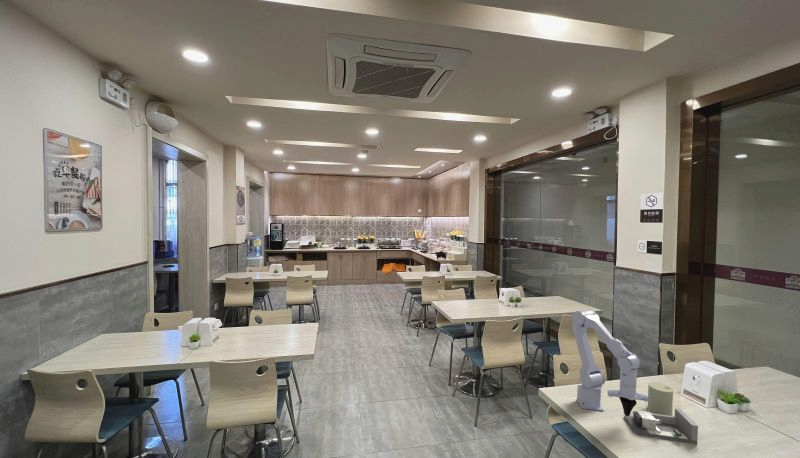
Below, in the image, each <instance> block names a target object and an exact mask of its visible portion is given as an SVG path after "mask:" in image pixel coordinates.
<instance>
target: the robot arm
mask: <svg viewBox="0 0 800 458" xmlns="http://www.w3.org/2000/svg"><path fill="white" fill-rule="evenodd" d="M571 321H572V332H573V335H574V339H575V342H576V345H577V351H578V354H579V357H580V360H581V365H582V366H581V368H580V369H579V374H580V375H579V381H580V383H581V384H577V387H576V388H577V391H576V392H577V393H576V394H577V395H576V401H577V403H578V405H579V406H580V408H581V409H584V410H585V409H586V410H594V411H601V412H603V411H605V409H604V408H603V406H602V405H601V400H602V398H601V397H602V388H603V386H604V385H605V382H606V378H605V376H604V374H603V373H602V370H601V368H600V367H599V366H597V364H596V362H595V358H594V354H593V352H592V346H591V344H590V340H589V337H588V333H587V329H588V328H590V329H593V330H594V331H595V332H596V333H597V334H598V335H599V336H600V338H602V339H603V340H604V342H605V343H606V348H607V349H608V350H609V351H610V353H612V355H614V357H615V358H616V360H617V365H618V366H619V372H620V373H619V374H620V379H619V389H613V390H611V389H608V390H607V396H608V397H610V398H612V397H614V398H618V399H619V401H620V403H621V405H622V409H623V415H626V416H631V413H632V412H633V409H634V408H635V406H636V405H637V401H643V402H647V403H648V394H647V395H646V394H642V393H639V392H637V379H638V378H637V377H638V368H640V367H641V359H640V358H639V357H638V356H637V355H636V354H635V353H633V352H631V351H629V350H628V349H627V347H625V346H624V344H623V342H622V341H621V340H619V339H618V338H614V337H613V336H612V335H611V332H609V330H608V329H607V328H606V327H605V325H604V324H603V322H602V321H601V320H600V316H599V315H598V314H597V313H596V311H595V310H594V309H585V310H575V311H574V312H573V313H572V315H571ZM636 400H637V401H636Z"/></svg>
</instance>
